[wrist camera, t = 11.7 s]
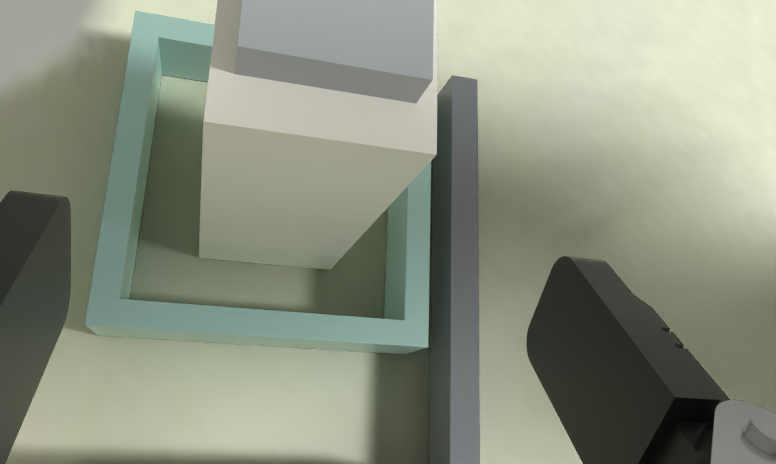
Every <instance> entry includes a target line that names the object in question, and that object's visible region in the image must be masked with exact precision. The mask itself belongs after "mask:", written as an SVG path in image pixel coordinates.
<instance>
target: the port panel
mask: <svg viewBox="0 0 776 464" xmlns="http://www.w3.org/2000/svg"><path fill="white" fill-rule="evenodd" d="M214 28H215V25H212V24H206V23H201V22H195V21H190V20H184V19H178V18H173V17H167V16H162V15H156V14H151V13H145V12H140V11H135V16H134V23H133V29H132V35H131V41H130V47H129V54H128V60H127V66H126V72H125V78H124V85H123V91H122V97H121V103H120V109H119V116H118V122H117V128H116V134H115V140H114V147H113V153H112V159H111V165H110V171H109V177H108V184H107V190H106V196H105V202H104V208H103V215H102V221H101V227H100V233H99V239H98V246H97V252H96V258H95V264H94V270H93V277H92V283H91V289H90V295H89V301H88V308H87V314H86V320H85V326H87V327H88V328H89V329H90V330H91V331H93V332H94V333H95V334H96V335H100V336H116V337H132V338H148V339H164V340H180V341H196V342H213V343H229V344H245V345H261V346H277V347H293V348H309V349H325V350H341V351H358V352H374V353H390V354H408V353H411V352H415V351H418V350H421V349H424V348H428V333H429V266H430V199H431V161H430V163H429V164H428V165H427V166H426V167H425V168H424V169H423V170H422V171H421V172H420V173H419V174H418V176H417V177H416V178H415V179H414V180H413V181H412V182H411V183H410V184H409V185H408V186H407V187H406V189H405V190H404V191H403V192H402V193H401V194H400V195H399V196H398V197H397V198H396V199H395V200H394V201H393V203H392V204H391V205H390V206H389V207H388V222H387V251H386V281H385V310H384V319H380V318H367V317H354V316H341V315H328V314H314V313H301V312H288V311H275V310H261V309H248V308H235V307H222V306H209V305H195V304H182V303H169V302H156V301H143V300H130V293H131V286H132V279H133V272H134V265H135V258H136V251H137V244H138V237H139V230H140V223H141V216H142V209H143V202H144V195H145V188H146V182H147V175H148V168H149V161H150V154H151V147H152V140H153V133H154V126H155V119H156V112H157V105H158V98H159V91H160V84H161V77H162V75H167V76H173V77H180V78H186V79H192V80H198V81H205V82H208V78H209V70H210V62H211V53H212V45H213V36H214ZM429 464H480V425H479V271H478V117H477V80H475V79H470V78H464V77H459V76H453V75H452V76H451V78H450V79H449V80H448V82H447V83H446V84H445V86H444V87H443V88H442V90H441V91H440V92H439V94H438V95H437V155H436V156H435V157H434V158H433V211H432V283H431V354H430V426H429Z"/></svg>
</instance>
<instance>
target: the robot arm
mask: <svg viewBox="0 0 776 464" xmlns="http://www.w3.org/2000/svg"><path fill="white" fill-rule="evenodd" d="M70 288H71V215H70V203H69V200H68V198H67V197H63V196H54V195H45V194H37V193H28V192H20V191H10V192H8V194H7V195H6V196H5V197H4V199H3V200H2V201H1V203H0V464H5V463H6V460H7V458H8V456H9V453H10V451H11V449H12V446H13V444H14V442H15V439H16V437H17V434H18V432H19V430H20V427H21V425H22V423H23V420H24V418H25V416H26V413H27V411H28V408H29V406H30V404H31V401H32V399H33V397H34V394H35V392H36V389H37V387H38V385H39V382H40V380H41V378H42V375H43V373H44V371H45V368H46V366H47V363H48V361H49V359H50V356H51V354H52V352H53V349H54V347H55V345H56V342H57V340H58V337H59V335H60V333H61V330H62V328H63V325H64V322H65V319H66V315H67V311H68V305H69V299H70ZM669 329H670V328H669V327H668V326H667V325H666V324H665V322H664V321H663V320H662V319H661V318H660V316H659V315H658V314H657V313H656V312H655V311H654V309H653V308H651V307H650V306H649V305H647V304H646V303H644V302H643V301H642V300H640V299H639V298H638V297H636V296H635V295H634V294H632V292H631V291H630V290H629V289H628V288H627V286H626V285H625V284H624V283H623V281H622V280H621V279H620V278H619V277H618V275H617V274H616V273H615V272H614V271H613V269H612V268H611V267H610V266H609V265H608V264H607V263H606V262H604V261H601V260H593V259H584V258H576V257H567V256H564V257H561V258H559V259H558V260H557V261H556V262H555V264H554V266H553V268H552V270H551V272H550V275H549V277H548V280H547V282H546V285H545V287H544V290H543V292H542V295H541V297H540V300H539V303H538V305H537V308H536V310H535V313H534V315H533V318H532V320H531V323H530V325H529V329H528V333H527V353H528V357H529V360H530V362H531V364H532V366H533V368H534V370H535V372H536V374H537V376H538V378H539V380H540V382H541V384H542V386H543V387H544V389H545V391H546V393H547V395H548V397H549V399H550V401H551V403H552V405H553V407H554V409H555V411H556V412H557V414H558V416H559V418H560V420H561V422H562V424H563V426H564V428H565V430H566V432H567V434H568V436H569V437H570V439H571V441H572V443H573V445H574V447H575V449H576V451H577V453H578V455H579V457H580V459H581V461H582V462H583V464H776V413H774V412H772V411H770V410H768V409H766V408H764V407H761V406H759V405H756V404H753V403H750V402H745V401H740V400H730V399H729V398H728V397H727V396H726V394H725V393H724V392H723V391H722V390H721V388H720V387H719V386H718V385H717V384H716V383H715V381H714V380H713V379H712V378H711V377H710V375H709V374H708V373H707V372H706V371H705V370H704V368H703V367H702V366H701V365H700V364H699V362H698V361H697V360H696V359H695V358H694V357H693V355H692V354H691V353H690V352H689V351H688V350H687V349H683V344H682V342H681V341H680V340H679V339H678V338H677V337H676V335H675V334H674V333H673V332H669Z"/></svg>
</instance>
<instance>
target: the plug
mask: <svg viewBox="0 0 776 464" xmlns="http://www.w3.org/2000/svg"><path fill="white" fill-rule="evenodd" d="M437 78H438V0H218V3H217V11H216V20H215V28H214V36H213V45H212V53H211V62H210V70H209V78H208V87H207V95H206V103H205V112H204V120H203V147H202V176H201V206H200V235H199V258H207V259H218V260H229V261H240V262H251V263H262V264H272V265H283V266H294V267H305V268H316V269H327V270H331V269H332V268H333V266H334V265H335V264H336V263H337V262H338V261H339V260H340V259H341V258H342V257H343V256H344V255H345V253H346V252H347V251H348V250H349V249H350V248H351V247H352V246H353V245H354V244H355V243H356V242H357V240H358V239H359V238H360V237H361V236H362V235H363V234H364V233H365V232H366V231H367V230H368V229H369V227H370V226H371V225H372V224H373V223H374V222H375V221H376V220H377V219H378V218H379V217H380V216H381V214H382V213H383V212H384V211H385V210H386V209H387V208H388V207H389V206H390V205H391V204H392V203H393V201H394V200H395V199H396V198H397V197H398V196H399V195H400V194H401V193H402V192H403V191H404V190H405V189H406V187H407V186H408V185H409V184H410V183H411V182H412V181H413V180H414V179H415V178H416V177H417V176H418V174H419V173H420V172H421V171H422V170H423V169H424V168H425V167H426V166H427V165H428V164H429V163H430V161H431V160H432V159H433V158H434V157H435V156H436V155H437Z"/></svg>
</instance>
